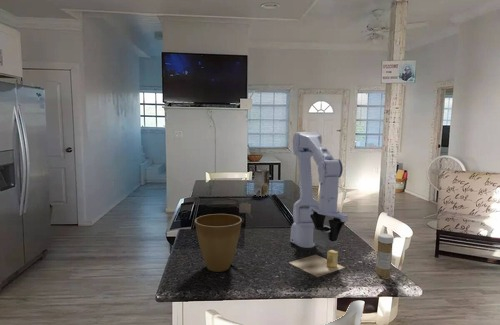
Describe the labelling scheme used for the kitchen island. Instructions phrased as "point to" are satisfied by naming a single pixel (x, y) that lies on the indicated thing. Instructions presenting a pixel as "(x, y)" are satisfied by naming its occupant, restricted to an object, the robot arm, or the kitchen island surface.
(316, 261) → the plate
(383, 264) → the sprinkles bottle
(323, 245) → the grey hollow square block
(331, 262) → the brass post
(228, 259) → the plant pot
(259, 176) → the coffee box
